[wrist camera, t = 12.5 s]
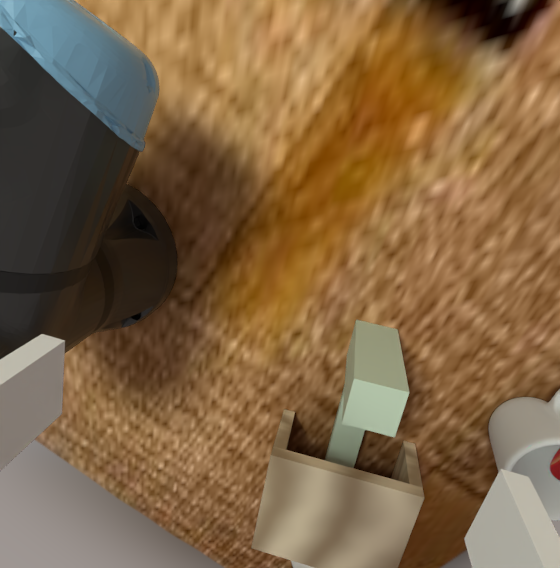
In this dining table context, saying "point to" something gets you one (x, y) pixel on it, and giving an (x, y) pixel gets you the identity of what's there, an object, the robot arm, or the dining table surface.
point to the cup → (530, 445)
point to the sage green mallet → (369, 391)
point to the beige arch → (336, 509)
